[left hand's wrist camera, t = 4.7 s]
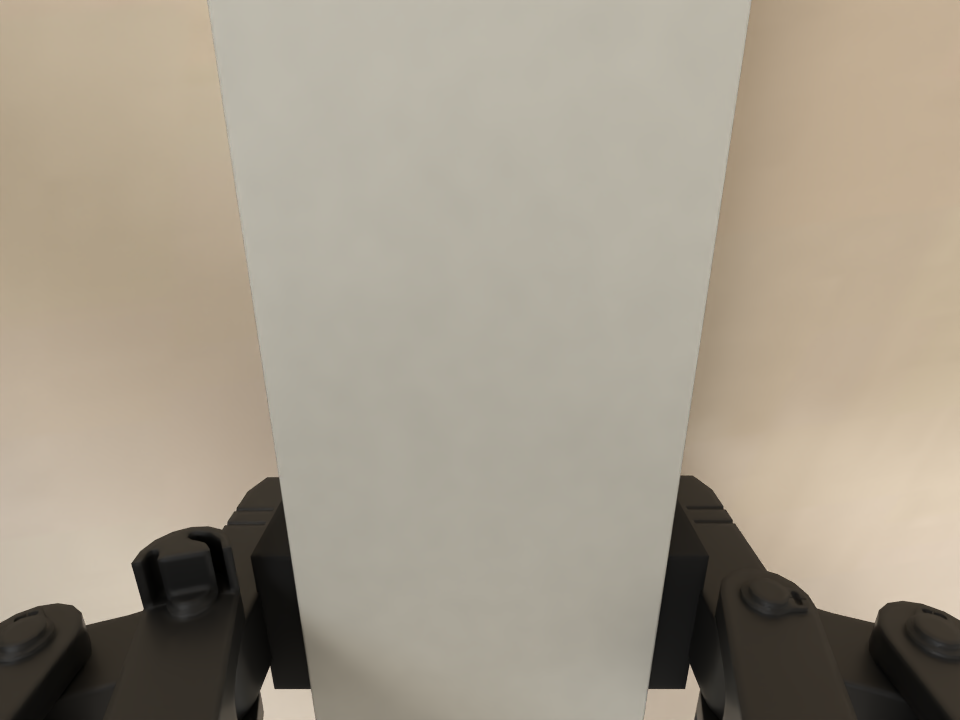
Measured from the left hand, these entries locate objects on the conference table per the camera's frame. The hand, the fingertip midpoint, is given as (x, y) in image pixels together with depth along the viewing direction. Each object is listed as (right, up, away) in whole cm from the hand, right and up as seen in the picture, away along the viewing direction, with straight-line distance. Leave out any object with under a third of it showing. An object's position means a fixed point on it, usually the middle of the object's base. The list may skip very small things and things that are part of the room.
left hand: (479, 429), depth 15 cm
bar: (0, +27, -10) cm, 29 cm away
